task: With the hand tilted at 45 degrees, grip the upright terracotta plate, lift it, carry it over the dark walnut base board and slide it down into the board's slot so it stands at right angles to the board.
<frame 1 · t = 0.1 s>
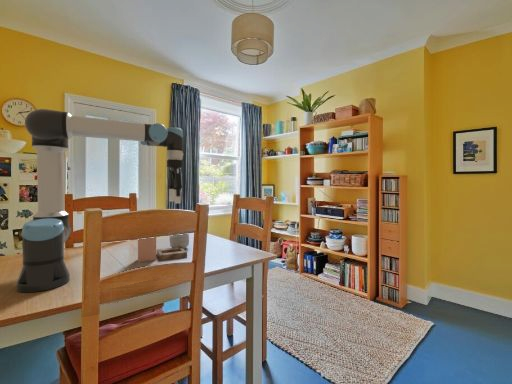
hand: (174, 202, 130), 28 cm above the table, tool pointing down, fingers open, 13 cm apart
plate: (146, 259, 127), on the table
base board: (171, 255, 134), on the table
grey rounded piece: (180, 248, 150), on the table
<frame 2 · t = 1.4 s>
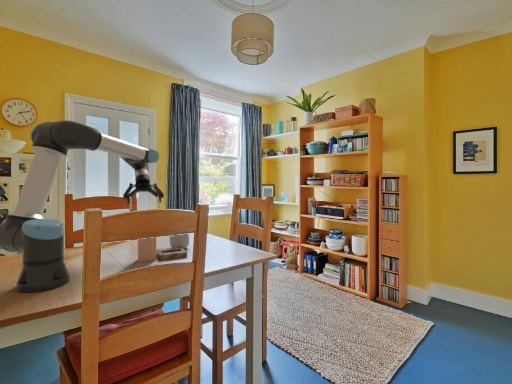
hand: (145, 207, 136), 25 cm above the table, tool tilted 45°, fingers open, 13 cm apart
nothing on the table moved.
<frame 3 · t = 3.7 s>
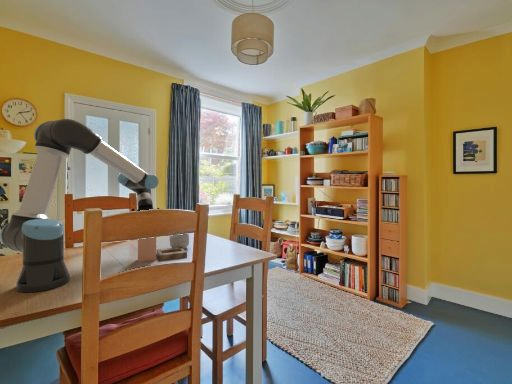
hand: (148, 235, 131), 11 cm above the table, tool tilted 45°, fingers open, 13 cm apart
nothing on the table moved.
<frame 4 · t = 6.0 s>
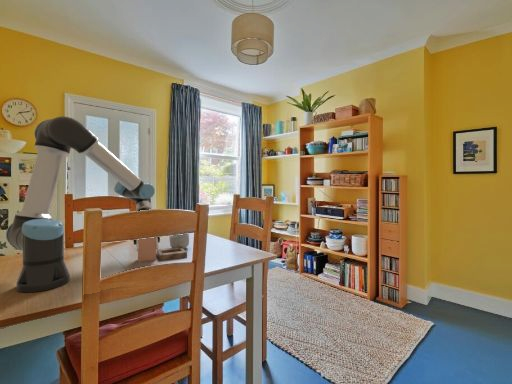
hand: (147, 248, 124), 6 cm above the table, tool tilted 45°, fingers closed on plate, 8 cm apart
plate: (146, 259, 127), on the table, touching gripper
everything else where it was.
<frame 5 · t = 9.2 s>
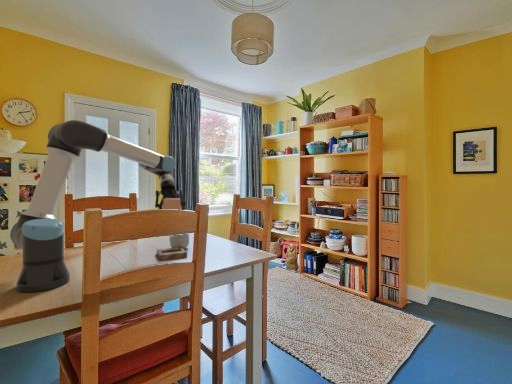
hand: (172, 216, 131), 21 cm above the table, tool tilted 45°, fingers closed on plate, 8 cm apart
plate: (171, 227, 134), point 14 cm above the table, touching gripper
everything else where it was.
when the fingers open (8 cm above the table, at t = 12.6 s): plate drops 1 cm, resting in base board.
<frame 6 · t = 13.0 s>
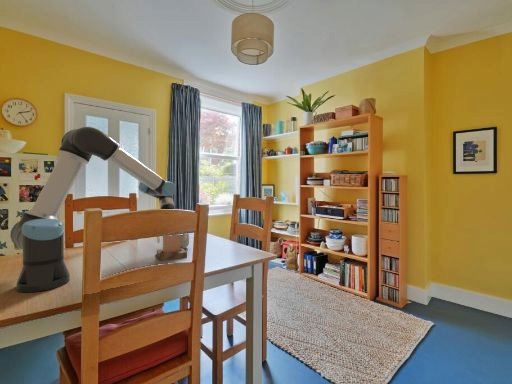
hand: (172, 240, 132), 9 cm above the table, tool tilted 45°, fingers open, 13 cm apart
plate: (171, 255, 135), resting in base board
everything else where it was.
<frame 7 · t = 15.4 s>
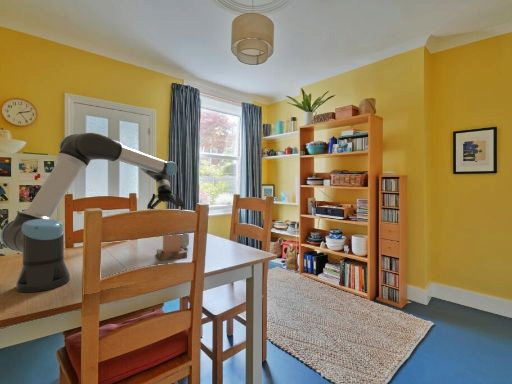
hand: (168, 217, 142), 19 cm above the table, tool tilted 45°, fingers open, 13 cm apart
nothing on the table moved.
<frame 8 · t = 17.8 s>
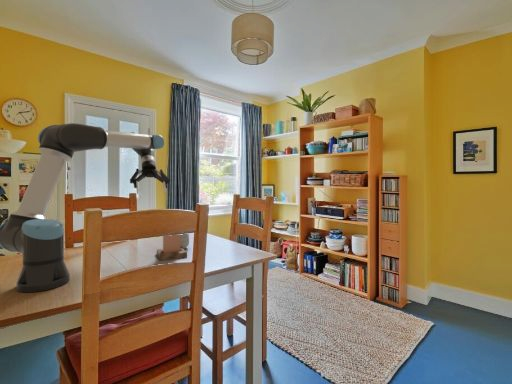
hand: (151, 191, 138), 33 cm above the table, tool tilted 45°, fingers open, 13 cm apart
nothing on the table moved.
at the end: plate 0.1 cm off-centre on the base board, point 0.0 cm above the base board's base; plate tilted 0°; the gripper is holding nothing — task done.
